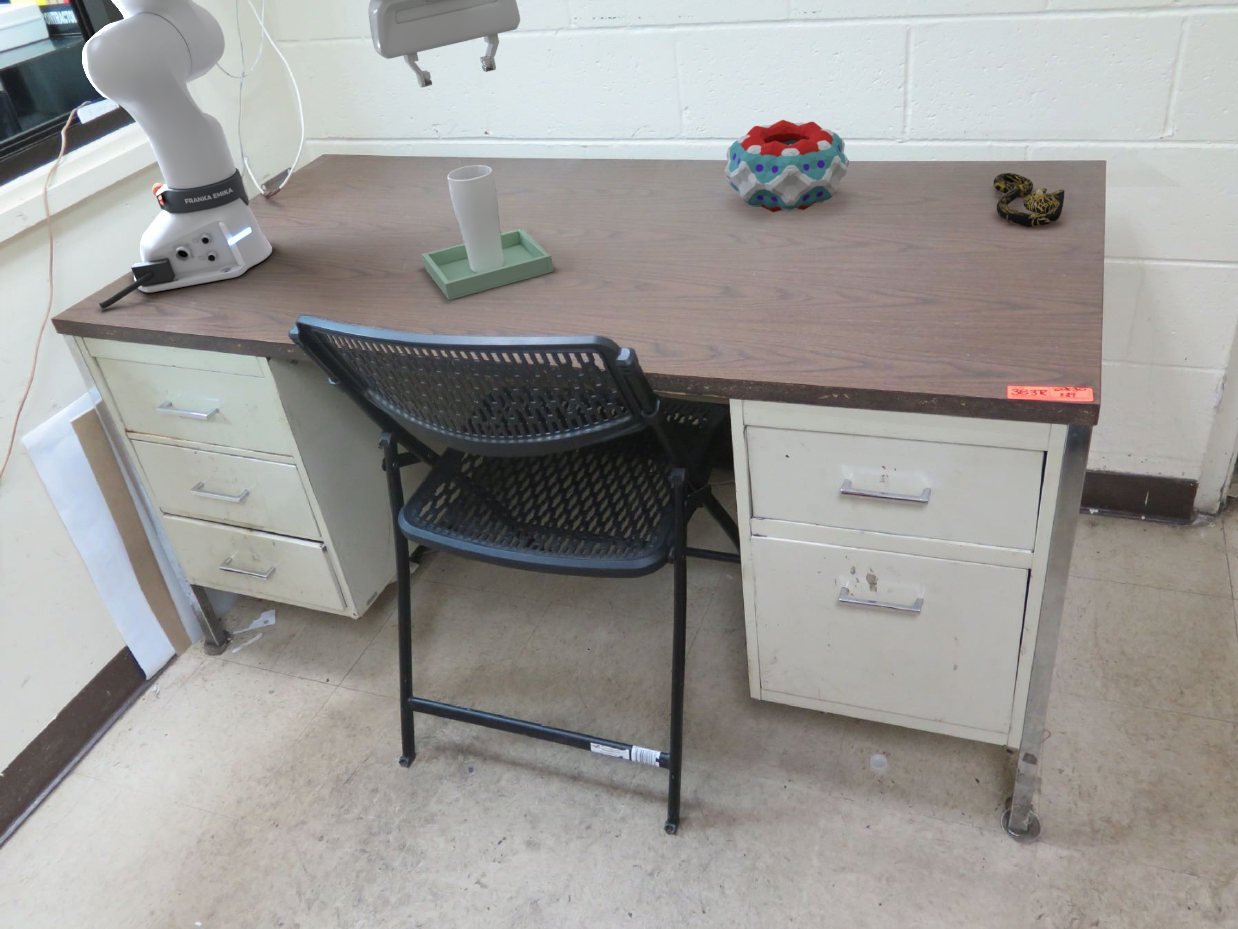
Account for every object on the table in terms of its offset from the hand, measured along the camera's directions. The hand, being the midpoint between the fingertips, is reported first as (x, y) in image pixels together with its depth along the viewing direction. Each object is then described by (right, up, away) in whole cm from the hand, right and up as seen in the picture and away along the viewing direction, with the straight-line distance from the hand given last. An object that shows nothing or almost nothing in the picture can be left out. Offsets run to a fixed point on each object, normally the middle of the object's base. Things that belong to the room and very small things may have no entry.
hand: (458, 77), depth 136 cm
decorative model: (+50, -10, +27) cm, 58 cm away
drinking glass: (+2, -23, +16) cm, 28 cm away
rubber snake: (+85, -14, +15) cm, 87 cm away
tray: (+2, -24, +16) cm, 28 cm away
